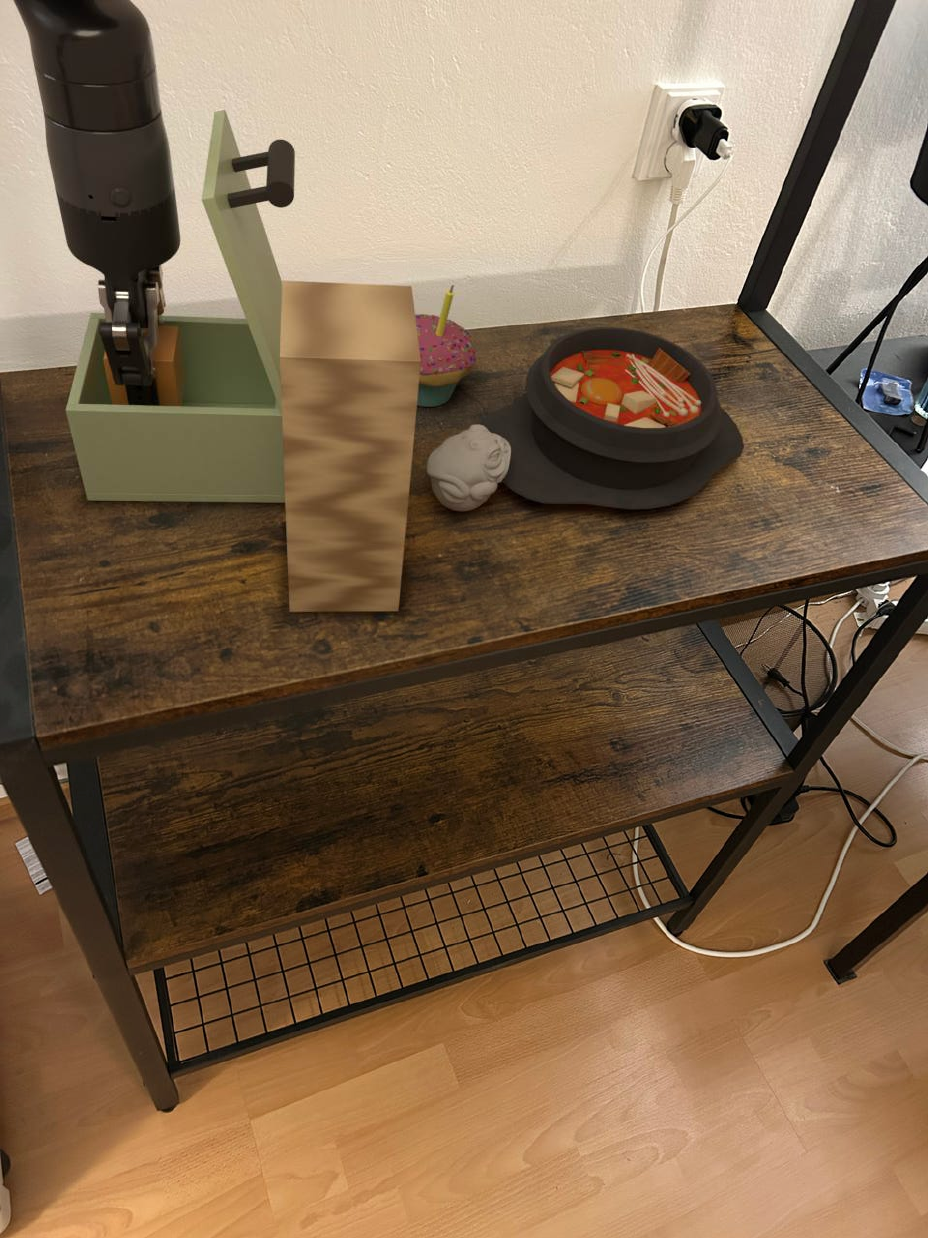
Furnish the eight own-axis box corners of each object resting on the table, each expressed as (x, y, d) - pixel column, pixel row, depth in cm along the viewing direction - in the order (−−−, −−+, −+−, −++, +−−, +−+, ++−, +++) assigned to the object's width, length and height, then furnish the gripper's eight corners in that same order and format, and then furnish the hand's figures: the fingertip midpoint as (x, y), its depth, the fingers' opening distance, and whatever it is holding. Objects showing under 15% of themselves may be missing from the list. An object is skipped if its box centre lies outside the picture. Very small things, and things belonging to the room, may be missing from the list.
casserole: (667, 371, 97) (691, 296, 90) (778, 491, 86) (814, 415, 80) (439, 416, 88) (448, 336, 82) (533, 556, 78) (551, 476, 71)
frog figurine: (515, 517, 80) (528, 451, 75) (438, 536, 78) (446, 469, 73) (483, 471, 84) (494, 405, 79) (409, 487, 81) (415, 420, 76)
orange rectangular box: (114, 413, 75) (103, 358, 71) (121, 377, 78) (111, 322, 74) (180, 414, 76) (173, 360, 72) (185, 379, 79) (178, 325, 75)
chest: (87, 500, 76) (65, 409, 70) (108, 401, 84) (90, 312, 78) (288, 503, 79) (285, 415, 72) (290, 406, 87) (288, 319, 80)
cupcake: (488, 396, 91) (506, 280, 82) (424, 433, 86) (436, 313, 77) (423, 354, 94) (434, 237, 85) (359, 387, 90) (363, 267, 81)
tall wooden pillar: (289, 612, 71) (279, 356, 55) (290, 535, 76) (282, 279, 60) (398, 611, 72) (421, 360, 56) (392, 535, 77) (411, 285, 61)
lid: (201, 199, 59) (282, 182, 59) (214, 111, 67) (285, 96, 67) (280, 411, 72) (347, 398, 71) (283, 315, 80) (343, 304, 79)
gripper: (71, 128, 68) (111, 339, 81) (34, 231, 59) (86, 451, 71) (182, 135, 69) (204, 343, 82) (163, 237, 60) (191, 453, 73)
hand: (149, 392), depth 77 cm, fingers closed on orange rectangular box, 4 cm apart
